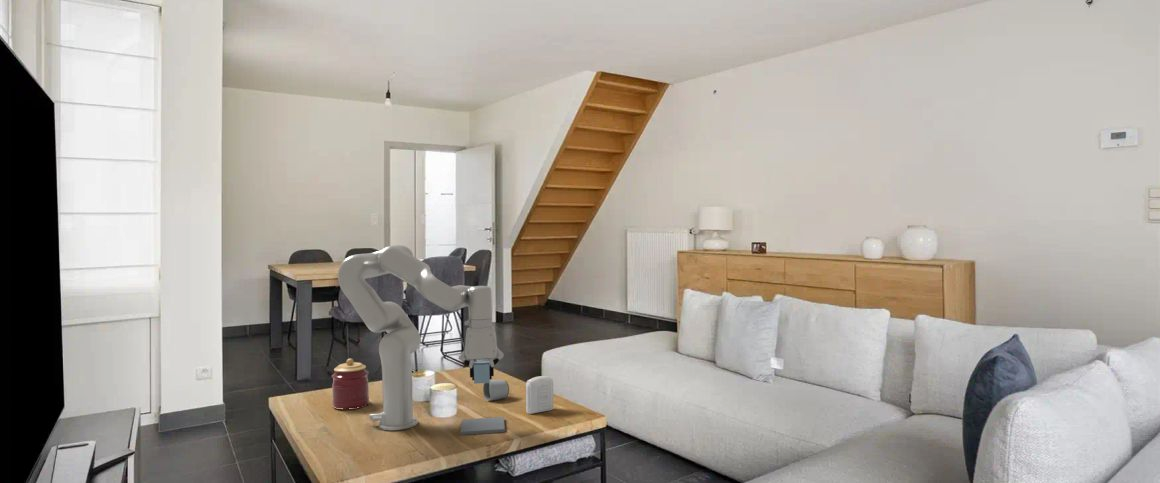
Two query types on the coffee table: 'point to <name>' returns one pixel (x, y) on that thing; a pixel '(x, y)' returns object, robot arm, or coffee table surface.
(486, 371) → the blue block
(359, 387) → the canister
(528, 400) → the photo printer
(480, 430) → the slate pad
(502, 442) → the coffee table surface
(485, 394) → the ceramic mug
